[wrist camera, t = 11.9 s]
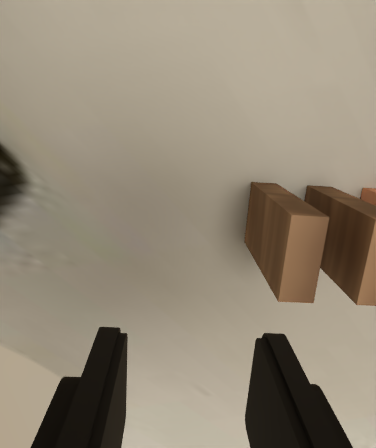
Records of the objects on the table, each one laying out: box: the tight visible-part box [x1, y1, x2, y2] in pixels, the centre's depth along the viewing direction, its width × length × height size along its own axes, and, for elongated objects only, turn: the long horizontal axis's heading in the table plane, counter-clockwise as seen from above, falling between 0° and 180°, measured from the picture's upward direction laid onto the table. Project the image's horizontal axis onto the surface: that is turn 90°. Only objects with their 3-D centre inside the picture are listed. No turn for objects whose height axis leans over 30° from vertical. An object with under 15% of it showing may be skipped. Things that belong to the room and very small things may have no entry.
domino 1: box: [244, 182, 329, 303], centre depth 24 cm, size 2×5×10 cm, turn 176°
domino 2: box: [305, 186, 376, 306], centre depth 24 cm, size 2×5×10 cm, turn 177°
